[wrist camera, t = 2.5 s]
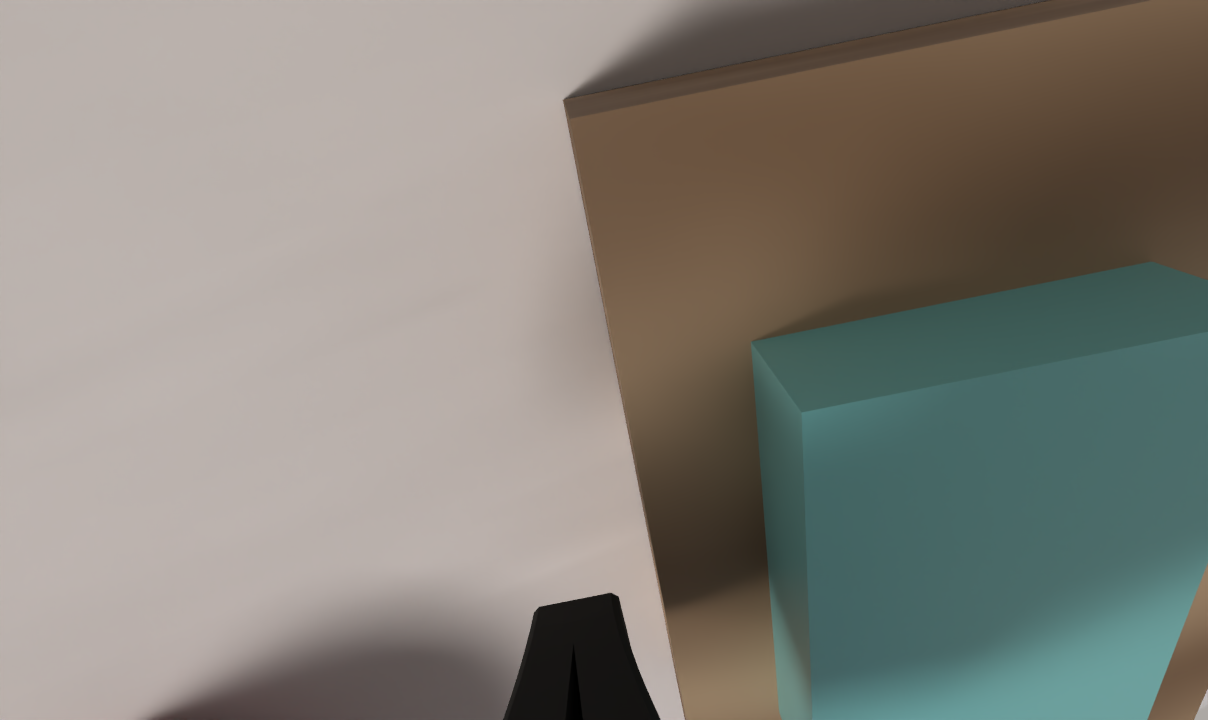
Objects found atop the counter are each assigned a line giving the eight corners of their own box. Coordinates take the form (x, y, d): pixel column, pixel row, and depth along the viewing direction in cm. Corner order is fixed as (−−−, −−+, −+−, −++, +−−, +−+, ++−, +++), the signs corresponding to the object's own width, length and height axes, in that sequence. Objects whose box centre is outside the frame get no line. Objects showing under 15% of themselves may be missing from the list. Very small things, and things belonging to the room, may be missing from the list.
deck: (1065, 589, 18) (1193, 720, 14) (674, 666, 18) (704, 814, 15) (1217, -34, 11) (1548, -81, 7) (563, 99, 11) (570, 119, 7)
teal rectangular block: (1053, 658, 13) (1133, 754, 11) (779, 711, 13) (815, 815, 11) (1151, 261, 9) (1304, 312, 7) (750, 341, 9) (801, 412, 7)
